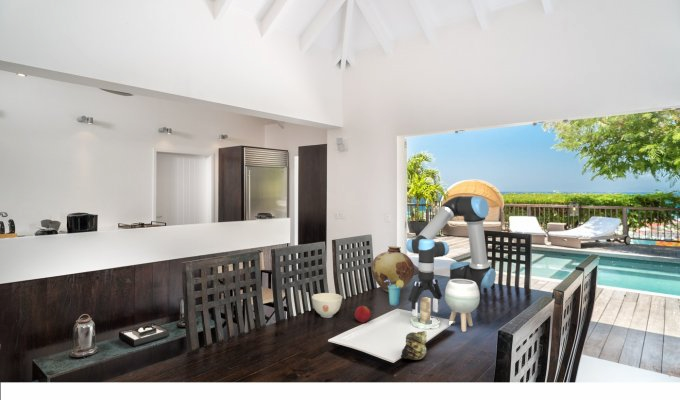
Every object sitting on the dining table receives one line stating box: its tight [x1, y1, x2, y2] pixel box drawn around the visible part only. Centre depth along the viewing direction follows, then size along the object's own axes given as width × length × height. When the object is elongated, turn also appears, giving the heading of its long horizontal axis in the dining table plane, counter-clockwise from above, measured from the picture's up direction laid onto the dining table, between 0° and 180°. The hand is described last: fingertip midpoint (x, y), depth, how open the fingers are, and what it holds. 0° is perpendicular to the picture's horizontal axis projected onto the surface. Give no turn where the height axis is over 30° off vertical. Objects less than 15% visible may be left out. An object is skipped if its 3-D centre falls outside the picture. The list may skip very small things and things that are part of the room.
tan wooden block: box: [419, 296, 432, 324], centre depth 193 cm, size 4×4×12 cm
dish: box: [409, 315, 441, 329], centre depth 193 cm, size 14×14×3 cm
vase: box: [371, 245, 415, 293], centre depth 254 cm, size 28×27×30 cm
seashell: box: [400, 330, 427, 361], centre depth 153 cm, size 11×11×10 cm
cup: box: [384, 279, 404, 306], centre depth 227 cm, size 14×8×15 cm, turn 124°
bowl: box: [311, 292, 343, 319], centre depth 204 cm, size 16×16×10 cm
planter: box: [444, 279, 481, 333], centre depth 189 cm, size 16×16×22 cm
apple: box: [354, 305, 372, 323], centre depth 195 cm, size 8×8×8 cm
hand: (425, 313), depth 193 cm, fingers open, 13 cm apart
